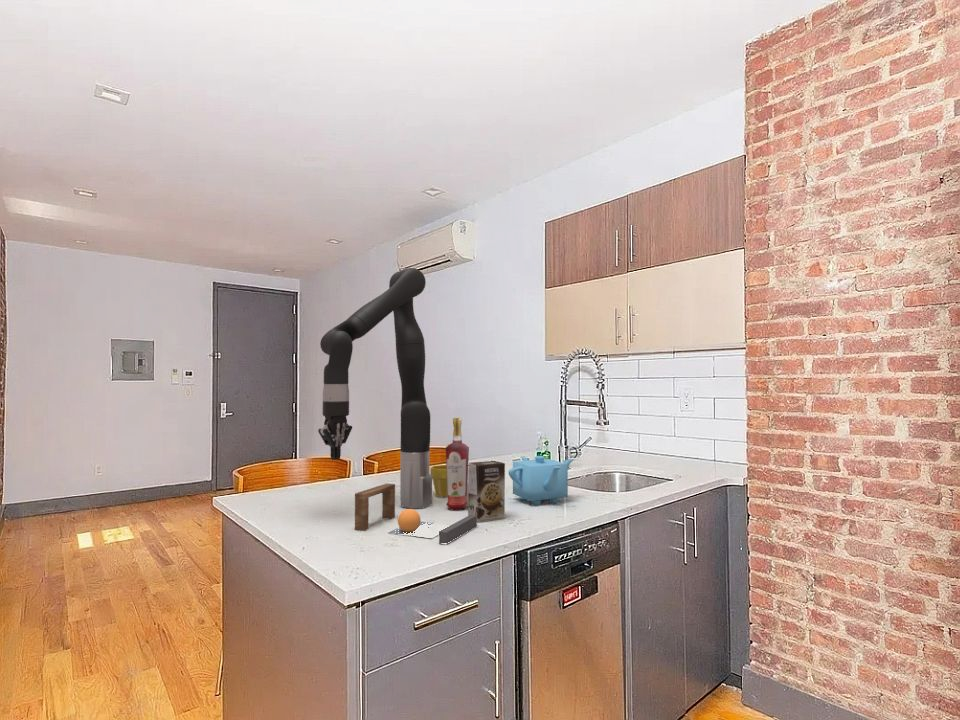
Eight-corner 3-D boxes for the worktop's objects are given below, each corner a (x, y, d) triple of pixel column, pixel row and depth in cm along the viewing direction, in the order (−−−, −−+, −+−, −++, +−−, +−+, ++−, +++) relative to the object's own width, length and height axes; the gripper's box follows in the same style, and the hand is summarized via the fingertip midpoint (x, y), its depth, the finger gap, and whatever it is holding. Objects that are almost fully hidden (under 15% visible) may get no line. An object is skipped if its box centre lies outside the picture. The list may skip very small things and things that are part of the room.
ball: (411, 503, 151) (407, 524, 152) (395, 507, 147) (391, 528, 147) (427, 512, 148) (422, 533, 149) (411, 516, 143) (406, 538, 144)
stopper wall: (476, 526, 153) (476, 515, 153) (446, 544, 136) (446, 532, 137) (470, 525, 154) (470, 514, 154) (439, 543, 137) (439, 531, 137)
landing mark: (454, 526, 153) (454, 525, 153) (431, 539, 141) (431, 538, 141) (413, 521, 158) (413, 520, 158) (388, 533, 146) (388, 532, 146)
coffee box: (477, 522, 157) (477, 465, 157) (467, 517, 162) (467, 462, 163) (505, 519, 161) (505, 462, 161) (494, 514, 166) (494, 459, 167)
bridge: (394, 517, 162) (395, 484, 162) (363, 531, 148) (364, 494, 148) (386, 516, 163) (386, 483, 163) (354, 529, 150) (354, 493, 150)
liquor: (471, 506, 176) (471, 417, 177) (465, 511, 169) (465, 419, 169) (449, 505, 178) (449, 417, 178) (442, 510, 170) (442, 418, 171)
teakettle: (505, 505, 178) (504, 458, 178) (521, 492, 196) (521, 450, 196) (563, 510, 171) (563, 462, 172) (575, 497, 189) (574, 453, 189)
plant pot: (439, 491, 199) (439, 463, 199) (465, 493, 194) (465, 465, 195) (424, 496, 189) (424, 468, 190) (451, 499, 185) (451, 470, 185)
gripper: (331, 401, 155) (331, 463, 154) (360, 399, 167) (360, 457, 166) (310, 400, 158) (309, 461, 157) (340, 398, 170) (339, 455, 169)
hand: (335, 459), depth 162 cm, fingers closed
